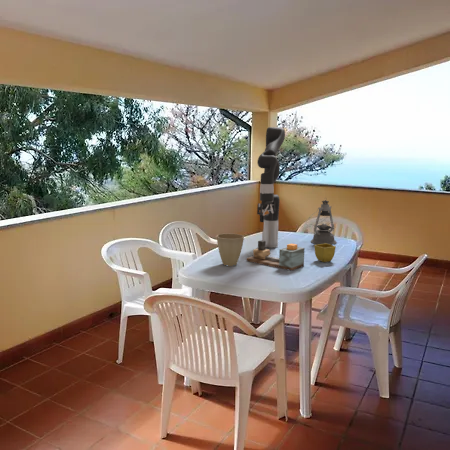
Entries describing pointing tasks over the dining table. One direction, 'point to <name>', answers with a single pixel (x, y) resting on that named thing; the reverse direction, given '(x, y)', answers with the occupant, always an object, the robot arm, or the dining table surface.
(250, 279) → the dining table surface
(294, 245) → the button
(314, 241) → the lantern
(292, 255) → the rail rig
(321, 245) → the flower pot
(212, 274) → the dining table surface
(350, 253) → the dining table surface
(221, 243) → the plant pot
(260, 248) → the carriage
